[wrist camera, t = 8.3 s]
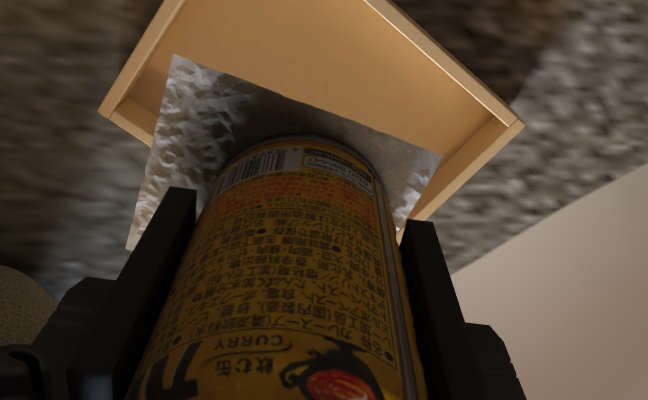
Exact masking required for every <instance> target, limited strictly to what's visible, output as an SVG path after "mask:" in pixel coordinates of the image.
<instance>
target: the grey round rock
mask: <svg viewBox="0 0 648 400" xmlns="http://www.w3.org/2000/svg"><path fill="white" fill-rule="evenodd" d="M57 306H58V303H57V301H56V300H55V299H54V298H53V297H52V296H51V295H50V294H49V293H48V292H47V291H46V290H45V289H44V288H43V287H42V286H41V285H40V284H38V283H37V282H36V281H34V280H33V279H31V278H30V277H28V276H27V275H26V274H24V273H22V272H20V271H17V270H15V269H12V268H10V267H7V266H3V265H0V346H5V345H10V344H28V345H30V346H31V344H32V343H33V341H34V340H35V338H36V337H37V335H38V334H39V332H40V331H41V329H42V328H43V326H44V325H45V324H47V322H48V319H49V318H50V316H51V315H52V313H53V312H54V310H56V309H57Z"/></svg>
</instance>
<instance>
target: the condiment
mask: <svg viewBox="0 0 648 400" xmlns="http://www.w3.org/2000/svg"><path fill="white" fill-rule="evenodd" d="M442 158H443V156H442V155H439V154H436V153H434V152H431V151H429V150H426V149H424V148H421V147H419V146H416V145H414V144H411V143H409V142H406V141H404V140H401V139H399V138H396V137H394V136H391V135H389V134H386V133H383V132H379V131H377V130H374V129H372V128H370V127H368V126H366V125H363V124H361V123H358V122H355V121H353V120H350V119H347V118H343V117H341V116H339V115H337V114H334V113H332V112H328V111H325V110H323V109H320V108H317V107H314V106H312V105H310V104H307V103H303V102H299V101H296V100H293V99H291V98H288V97H285V96H283V95H281V94H279V93H277V92H274V91H272V90H269V89H266V88H264V87H261V86H258V85H256V84H254V83H251V82H249V81H246V80H244V79H242V78H238V77H235V76H233V75H230V74H227V73H223V72H220V71H217V70H214V69H211V68H208V67H206V66H203V65H201V64H199V63H196V62H194V61H191V60H189V59H186V58H183V57H181V56H178V55H176V54H173V57H172V61H171V65H170V69H169V73H168V79H167V84H166V88H165V92H164V96H163V100H162V105H161V108H160V113H159V117H158V121H157V125H156V129H155V133H154V138H153V142H152V146H151V150H150V154H149V157H148V161H147V165H146V169H145V176H144V178H143V182H142V185H141V189H140V193H139V197H138V200H137V204H136V209H135V213H134V218H133V222H132V224H131V228H130V232H129V236H128V240H127V244H126V248H125V249H127V250H130V251H133V250H134V248H135V247H136V245H137V243H138V241H139V239H140V238H141V236H142V234H143V232H144V231H145V229H146V227H147V225H148V224H149V222H150V220H151V218H152V217H153V215H154V213H155V211H156V210H157V208H158V206H159V204H160V202H161V201H162V199H163V197H164V195H165V194H166V192H167V190H168V188H169V187H170V186H173V187H181V188H188V189H195V190H197V202H196V224H195V226H194V228H193V231H192V235H191V237H190V240H189V242H188V244H187V246H186V248H185V251H184V253H183V254H182V255H181V261H180V263H179V266H178V268H177V271H176V274H175V277H174V279H173V281H172V282H171V286H170V289H169V291H168V295H167V297H166V299H165V301H164V303H163V305H162V308H161V312H160V314H159V317H158V319H157V321H156V323H155V326H154V328H153V330H152V333H151V335H150V338H149V340H148V342H147V344H146V347H145V349H144V352H143V355H142V357H141V360H140V362H139V364H138V367H137V369H136V372H135V374H134V376H133V379H132V381H131V384H130V386H129V389H128V391H127V393H126V396H125V397H124V399H123V400H428V395H429V391H428V387H427V385H426V383H425V372H424V367H423V365H422V362H421V360H420V355H419V350H418V347H417V343H416V333H415V329H414V326H413V323H414V318H413V315H412V313H411V309H410V304H409V293H408V288H407V285H406V275H405V272H404V270H403V268H402V261H401V260H402V255H401V252H400V251H399V246H398V243H397V240H396V236H397V234H398V232H399V231H400V229H401V227H402V226H403V224H404V222H405V220H406V219H407V217H408V215H409V213H410V212H411V210H412V209H413V207H414V206H415V204H416V203H417V201H418V199H419V198H420V196H421V195H422V193H423V191H424V189H425V187H426V186H427V184H428V183H429V181H430V179H431V177H432V176H433V174H434V172H435V170H436V169H437V167H438V165H439V163H440V161H441V160H442Z"/></svg>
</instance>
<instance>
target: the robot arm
mask: <svg viewBox="0 0 648 400" xmlns="http://www.w3.org/2000/svg"><path fill="white" fill-rule="evenodd" d="M196 202H197V190H195V189H188V188H181V187H173V186H170V187H169V188H168V190H167V192H166V194H165V195H164V197H163V199H162V201H161V202H160V204H159V206H158V208H157V210H156V211H155V213H154V215H153V217H152V218H151V220H150V222H149V224H148V225H147V227H146V229H145V231H144V232H143V234H142V236H141V238H140V239H139V241H138V243H137V245H136V247H135V248H134V250H133V252H132V254H131V255H130V257H129V259H128V261H127V262H126V264H125V266H124V268H123V269H122V271H121V273H120V275H119V277H118V278H117V280H108V279H100V278H92V277H86V278H85V279H83V280H82V281H80V282H79V283H77V284H76V285H75V286H73V287H72V288H70V289H69V290H68V291H67V293H66V294H65V295H64V297H63V298H62V300H61V301H60V303H59V304H58V306H57V309H56V310H54V312H53V313H52V315H51V316H50V318H49V319H48V322H47V324H45V325H44V326H43V328H42V329H41V331H40V332H39V334H38V335H37V337H36V338H35V340H34V341H33V343H32V344H31V346H30V345H28V344H10V345H5V346H0V400H123V399H124V397H125V396H126V393H127V391H128V389H129V386H130V384H131V381H132V379H133V376H134V374H135V372H136V369H137V367H138V364H139V362H140V360H141V357H142V355H143V352H144V349H145V347H146V344H147V342H148V340H149V338H150V335H151V333H152V330H153V328H154V326H155V323H156V321H157V319H158V317H159V314H160V312H161V308H162V305H163V303H164V301H165V299H166V297H167V295H168V291H169V289H170V286H171V282H172V281H173V279H174V277H175V274H176V271H177V268H178V266H179V263H180V261H181V255H182V254H183V253H184V251H185V248H186V246H187V244H188V242H189V240H190V237H191V235H192V231H193V228H194V226H195V224H196ZM399 251H400V252H401V255H402V260H401V261H402V268H403V270H404V272H405V275H406V285H407V288H408V293H409V304H410V309H411V313H412V315H413V318H414V323H413V326H414V329H415V333H416V343H417V347H418V350H419V355H420V360H421V362H422V365H423V367H424V372H425V383H426V385H427V387H428V391H429V395H428V400H527V399H526V397H525V394H524V392H523V389H522V387H521V384H520V382H519V379H518V378H516V372H515V369H514V367H513V364H512V363H510V361H511V359H510V357H509V354H508V352H507V349H506V347H505V344H504V342H503V341H502V339H501V338H500V337H499V336H498V335H497V334H496V333H495V331H494V330H493V329H492V328H491V327H490V326H489V325H482V324H474V323H466V322H465V321H464V318H463V315H462V312H461V309H460V305H459V302H458V299H457V296H456V293H455V290H454V287H453V284H452V281H451V278H450V274H449V271H448V268H447V265H446V262H445V259H444V256H443V253H442V250H441V247H440V243H439V240H438V237H437V234H436V231H435V228H434V225H433V222H429V221H421V220H414V219H407V221H406V225H405V228H404V232H403V235H402V239H401V243H400V246H399Z"/></svg>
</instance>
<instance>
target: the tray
mask: <svg viewBox="0 0 648 400" xmlns="http://www.w3.org/2000/svg"><path fill="white" fill-rule="evenodd" d="M173 54H176V55H178V56H181V57H183V58H186V59H189V60H191V61H194V62H196V63H199V64H201V65H203V66H206V67H208V68H211V69H214V70H217V71H220V72H223V73H227V74H230V75H233V76H235V77H238V78H242V79H244V80H246V81H249V82H251V83H254V84H256V85H258V86H261V87H264V88H266V89H269V90H272V91H274V92H277V93H279V94H281V95H283V96H285V97H288V98H291V99H293V100H296V101H299V102H303V103H307V104H310V105H312V106H314V107H317V108H320V109H323V110H325V111H328V112H332V113H334V114H337V115H339V116H341V117H343V118H347V119H350V120H353V121H355V122H358V123H361V124H363V125H366V126H368V127H370V128H372V129H374V130H377V131H379V132H383V133H386V134H389V135H391V136H394V137H396V138H399V139H401V140H404V141H406V142H409V143H411V144H414V145H416V146H419V147H421V148H424V149H426V150H429V151H431V152H434V153H436V154H439V155H442V156H443V158H442V160H441V161H440V163H439V165H438V167H437V169H436V170H435V172H434V174H433V176H432V177H431V179H430V181H429V183H428V184H427V186H426V187H425V189H424V191H423V193H422V195H421V196H420V198H419V199H418V201H417V203H416V204H415V206H414V207H413V209H412V210H411V212H410V213H409V215H408V217H407V219H414V220H421V221H424V220H425V219H426V218H427V217H428V216H430V215H431V214H432V213H433V212H434V211H435V210H436V209H437V208H438V207H439V206H440V205H441V204H442V203H443V202H445V201H446V200H447V199H448V198H449V197H450V196H451V195H452V194H453V193H454V192H455V191H456V190H457V189H458V188H460V187H461V186H462V185H463V184H464V183H465V182H466V181H467V180H468V179H469V178H470V177H471V176H472V175H473V174H475V173H476V172H477V171H478V170H479V169H480V168H481V167H482V166H483V165H484V164H485V163H486V162H487V161H488V160H490V159H491V158H492V157H493V156H494V155H495V154H496V153H497V152H498V151H499V150H500V149H501V148H502V147H503V146H505V145H506V144H507V143H508V142H509V141H510V140H511V139H512V138H513V137H514V136H515V135H516V134H517V133H518V132H520V131H521V130H522V129H523V128H524V127H525V126H526V125H525V123H524V122H523V121H522V120H521V119H520V117H519V116H518V115H517V114H516V113H515V112H514V111H513V109H512V108H511V107H510V106H509V105H508V104H506V103H505V102H504V101H503V100H502V99H501V98H500V97H499V96H498V95H496V94H495V93H494V92H493V91H492V90H491V89H490V88H489V87H487V86H486V85H485V84H484V83H483V82H482V81H481V80H480V79H479V78H477V77H476V76H475V75H474V74H473V73H472V72H471V71H470V70H469V69H467V68H466V67H465V66H464V65H463V64H462V63H461V62H460V61H458V60H457V59H456V58H455V57H454V56H453V55H452V54H451V53H450V52H448V51H447V50H446V49H445V48H444V47H443V46H442V45H441V44H440V43H438V42H437V41H436V40H435V39H434V38H433V37H432V36H431V35H430V34H428V33H427V32H426V31H425V30H424V29H423V28H422V27H421V26H419V25H418V24H417V23H416V22H415V21H414V20H413V19H412V18H411V17H409V16H408V15H407V14H406V13H405V12H404V11H403V10H402V9H401V8H399V7H398V6H397V5H396V4H395V3H394V2H393V1H392V0H164V1H163V3H162V4H161V6H160V8H159V9H158V11H157V13H156V14H155V16H154V18H153V19H152V21H151V23H150V24H149V26H148V27H147V29H146V31H145V32H144V34H143V36H142V37H141V39H140V41H139V42H138V44H137V46H136V47H135V49H134V51H133V52H132V54H131V56H130V57H129V59H128V61H127V62H126V64H125V65H124V67H123V69H122V70H121V72H120V74H119V75H118V77H117V79H116V80H115V82H114V84H113V85H112V87H111V89H110V90H109V92H108V94H107V95H106V97H105V99H104V100H103V102H102V103H101V105H100V107H99V108H98V110H97V112H98V113H100V114H101V115H103V116H104V117H106V118H109V120H110V121H112V122H114V123H115V124H117V125H118V126H120V127H121V128H123V129H124V130H126V131H127V132H129V133H130V134H132V135H134V136H135V137H137V138H138V139H140V140H141V141H143V142H144V143H146V144H147V145H149V146H150V147H151V146H152V142H153V138H154V133H155V129H156V125H157V121H158V117H159V113H160V108H161V105H162V100H163V96H164V92H165V88H166V84H167V79H168V73H169V69H170V65H171V61H172V57H173ZM407 219H406V220H405V222H404V224H403V226H402V227H401V229H400V231H399V232H398V234H397V236H396V240H397V243H398V244H400V243H401V239H402V235H403V232H404V228H405V225H406V221H407Z"/></svg>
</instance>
